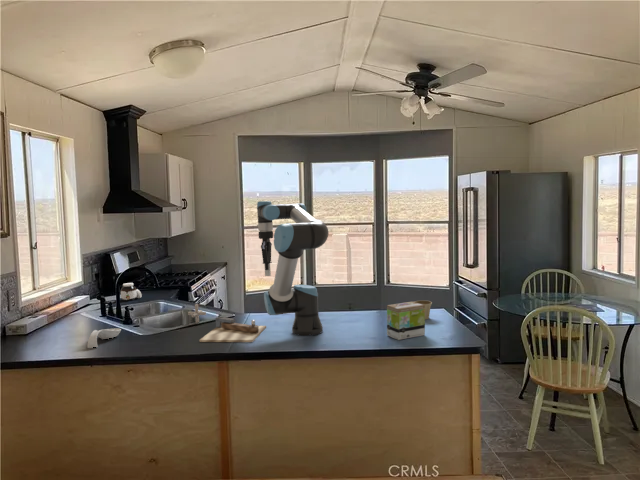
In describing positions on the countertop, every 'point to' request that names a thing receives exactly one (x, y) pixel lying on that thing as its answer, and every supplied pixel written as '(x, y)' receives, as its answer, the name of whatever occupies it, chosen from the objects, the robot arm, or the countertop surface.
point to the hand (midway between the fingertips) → (267, 275)
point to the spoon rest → (102, 336)
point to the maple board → (231, 335)
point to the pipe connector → (196, 313)
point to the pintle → (253, 322)
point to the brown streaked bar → (240, 327)
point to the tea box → (405, 320)
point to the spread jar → (130, 292)
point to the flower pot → (427, 307)
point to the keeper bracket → (223, 319)
